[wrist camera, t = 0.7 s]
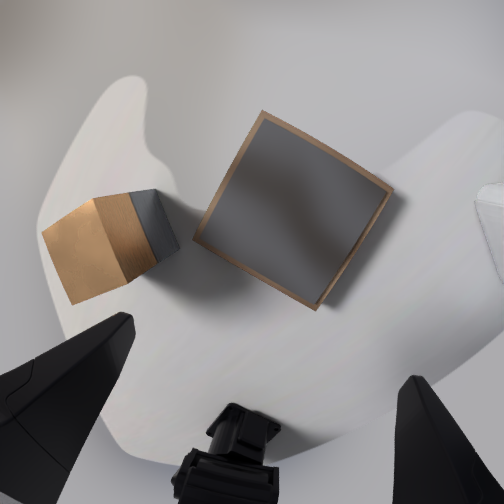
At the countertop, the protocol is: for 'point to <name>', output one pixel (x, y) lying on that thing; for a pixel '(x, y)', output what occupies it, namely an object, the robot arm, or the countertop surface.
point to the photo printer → (493, 221)
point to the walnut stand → (291, 211)
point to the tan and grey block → (109, 243)
